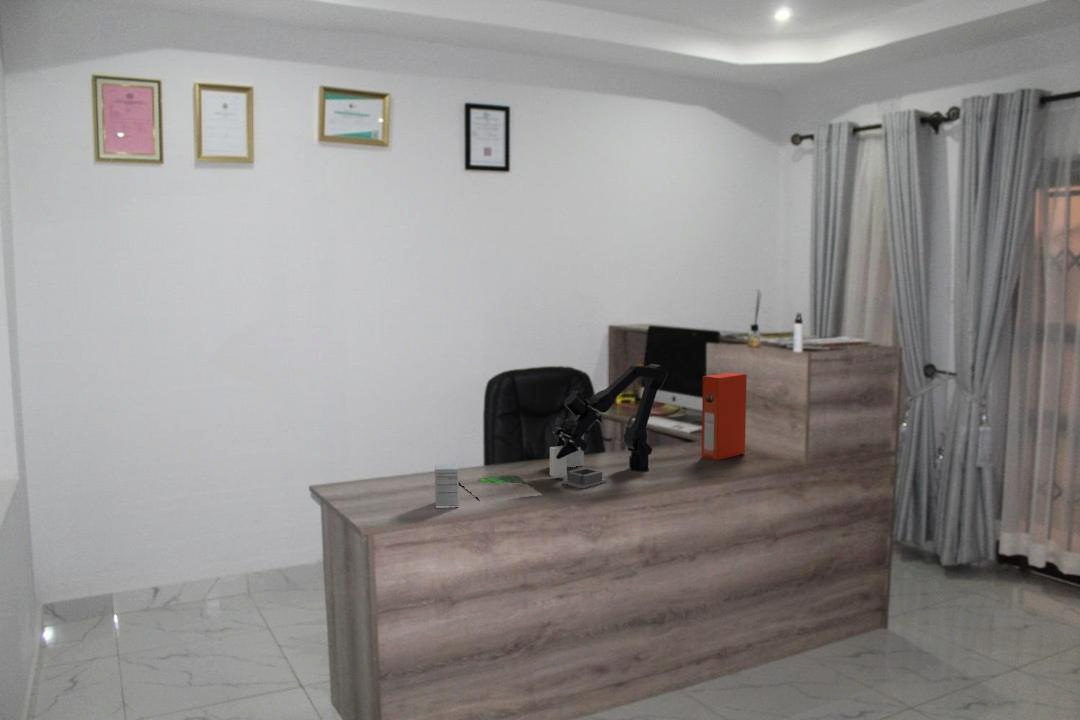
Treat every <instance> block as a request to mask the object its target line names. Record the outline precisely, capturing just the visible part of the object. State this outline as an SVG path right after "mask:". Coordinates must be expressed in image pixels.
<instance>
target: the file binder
mask: <svg viewBox="0 0 1080 720" xmlns="http://www.w3.org/2000/svg"><path fill="white" fill-rule="evenodd" d="M701 403H702V406H701V412H702V413H701V421H702V422H701V458H703V459H707V460H708V459H709V460H714V461H720V460H725V459H727V458H732V457H735V456H740V454H741V455H744V454H745V453H746V425H747V424H746V417H747V416H746V415H747V414H746V412H747V374H746V373H740V372H739V373H738V372H725V373H720V374H719V373H717V374H713V375H712V374H711V375H704V376H702V401H701Z"/></svg>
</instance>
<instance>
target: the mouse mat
mask: <svg viewBox="0 0 1080 720" xmlns="http://www.w3.org/2000/svg"><path fill="white" fill-rule="evenodd" d="M478 479H479V480H478V482H480V483H481V482H483V483H508V482H510V483H522V484H528V483H527V482H526V481H524V480H523V479H522V478H520V476H517V475H504V476H494V477H483V478H478ZM528 485H529V486H531V485H530V484H528Z"/></svg>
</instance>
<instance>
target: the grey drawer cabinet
mask: <svg viewBox="0 0 1080 720" xmlns="http://www.w3.org/2000/svg"><path fill="white" fill-rule="evenodd" d="M459 481H460V480H459V463H435V465H434V491H435V493H434V494H435V507H436V506H458V505H459V506H460V496H459V495H460V490H459V489H460V487H459V486H460V484H459Z"/></svg>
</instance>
